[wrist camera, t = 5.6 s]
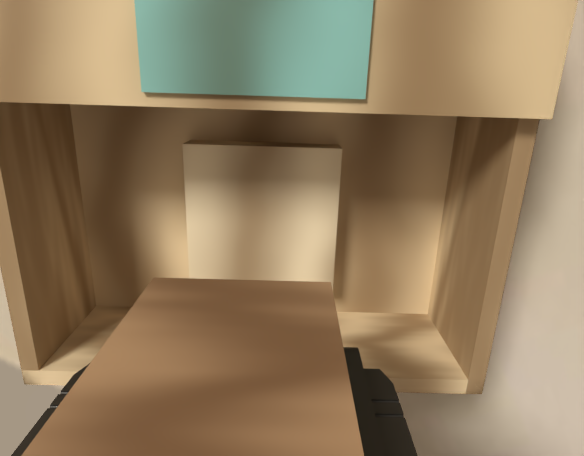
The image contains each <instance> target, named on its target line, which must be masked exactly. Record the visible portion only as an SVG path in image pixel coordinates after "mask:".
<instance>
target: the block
mask: <svg viewBox="0 0 584 456" xmlns="http://www.w3.org/2000/svg"><path fill="white" fill-rule="evenodd" d="M21 456H364V453H363V447H362V442H361V437H360V432H359V426H358V421H357V416H356V411H355V405H354V400H353V395H352V390H351V384H350V379H349V374H348V369H347V363H346V358H345V353H344V348H343V342H342V337H341V332H340V327H339V321H338V316H337V311H336V306H335V301H334V295H333V290H332V285H331V282H310V281H272V280H233V279H195V278H157V277H154V278H153V279H152V280H151V282H150V283H149V284H148V286H147V287H146V289H145V290H144V291H143V293H142V294H141V295H140V297H139V298H138V299H137V301H136V302H135V303H134V305H133V306H132V307H131V309H130V310H129V311H128V313H127V314H126V315H125V317H124V318H123V319H122V321H121V322H120V323H119V325H118V326H117V328H116V329H115V330H114V332H113V333H112V334H111V336H110V337H109V338H108V340H107V341H106V342H105V344H104V345H103V346H102V348H101V349H100V350H99V352H98V353H97V354H96V356H95V357H94V358H93V360H92V361H91V363H90V364H89V365H88V367H87V368H86V369H85V371H84V372H83V373H82V375H81V376H80V377H79V379H78V380H77V381H76V383H75V384H74V385H73V387H72V388H71V389H70V391H69V392H68V393H67V395H66V396H65V398H64V399H63V400H62V402H61V403H60V404H59V406H58V407H57V408H56V410H55V411H54V412H53V414H52V415H51V416H50V418H49V419H48V420H47V422H46V423H45V424H44V426H43V427H42V428H41V430H40V431H39V433H38V434H37V435H36V437H35V438H34V439H33V441H32V442H31V443H30V445H29V446H28V447H27V449H26V450H25V451H24V453H23V454H22V455H21Z"/></svg>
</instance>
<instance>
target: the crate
mask: <svg viewBox="0 0 584 456" xmlns="http://www.w3.org/2000/svg"><path fill="white" fill-rule="evenodd" d="M577 3H578V0H0V267H1V272H2V277H3V282H4V287H5V292H6V297H7V302H8V306H9V311H10V316H11V321H12V326H13V331H14V336H15V341H16V346H17V350H18V355H19V360H20V365H21V370H22V375H23V380H24V384H31V385H32V384H33V385H66V384H67V383H68V381H69V380H70V379H71V377H72V376H73V375H74V374H75V373H77V372H78V371H80V370H81V369H82V368H84V367H85V366H87V365H88V364H89V363H91V361H92V360H93V358H94V357H95V356H96V354H97V353H98V352H99V350H100V349H101V348H102V346H103V345H104V344H105V342H106V341H107V340H108V338H109V337H110V336H111V334H112V333H113V332H114V330H115V329H116V328H117V326H118V325H119V323H120V322H121V321H122V319H123V318H124V317H125V315H126V314H127V313H128V311H129V310H130V309H131V307H132V306H133V305H134V303H135V302H136V301H137V299H138V298H139V297H140V295H141V294H142V293H143V291H144V290H145V289H146V287H147V286H148V284H149V283H150V282H151V280H152V279H153V278H154V277H157V278H195V279H233V280H272V281H310V282H331V285H332V290H333V295H334V301H335V306H336V311H337V316H338V321H339V327H340V332H341V337H342V342H343V347H358V349H359V352H360V356H361V360H362V364H363V368H366V369H380V370H381V371H382V372H383V373H384V374H385V375H386V376H387V377H388V378H389V379H390V380H391V382H392V383H393V385H394V387H395V390H396V392H407V393H454V394H482V391H483V386H484V382H485V377H486V372H487V367H488V362H489V358H490V353H491V348H492V343H493V339H494V334H495V329H496V324H497V320H498V315H499V310H500V305H501V300H502V296H503V291H504V286H505V281H506V277H507V272H508V267H509V262H510V258H511V253H512V248H513V243H514V238H515V234H516V229H517V224H518V219H519V215H520V210H521V205H522V200H523V196H524V191H525V186H526V181H527V176H528V172H529V167H530V162H531V157H532V153H533V148H534V143H535V138H536V133H537V129H538V124H539V119H552V117H553V113H554V108H555V103H556V99H557V94H558V90H559V85H560V81H561V76H562V71H563V67H564V62H565V58H566V53H567V49H568V44H569V39H570V35H571V30H572V26H573V21H574V17H575V12H576V7H577Z"/></svg>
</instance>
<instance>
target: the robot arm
mask: <svg viewBox="0 0 584 456" xmlns="http://www.w3.org/2000/svg"><path fill="white" fill-rule="evenodd" d="M343 348H344V353H345V358H346V363H347V369H348V374H349V379H350V384H351V390H352V395H353V400H354V405H355V411H356V416H357V421H358V426H359V432H360V437H361V442H362V447H363V453H364V456H417V453H416V450H415V447H414V444H413V441H412V438H411V435H410V432H409V429H408V426H407V423H406V420H405V418H404V417H403V411H402V408H401V405H400V403H399V399H398V396H397V393H396V390H395V387H394V385H393V383H392V382H391V380H390V379H389V378H388V377H387V376H386V375H385V374H384V373H383V372H382V371H381V370H380V369H366V368H363V364H362V360H361V356H360V352H359V349H358V347H343ZM89 364H90V363H89ZM89 364H88V365H89ZM88 365H87V366H85V367H84V368H82V369H81V370H80V371H78V372H77V373H75V374H74V375H73V376H72V377H71V379H70V380H69V381H68V383H67V384H66V385H65V386H64V388H63V389H62V390H61V394H58V396H57V397H56V398H55V399H54V401H53V402H52V403H51V405H50V408H48V409H47V410H46V411H45V412H44V414H43V415H42V416H41V418H40V419H39V420H38V422H37V423H36V424H35V425H34V427H33V428H32V429H31V431H30V432H29V433H28V435H27V436H26V437H25V438H24V440H23V441H22V443H21V444H20V445H19V446H18V448H17V449H16V450H15V451H14V453H13V454H12V455H11V456H21V455H22V454H23V453H24V451H25V450H26V449H27V447H28V446H29V445H30V443H31V442H32V441H33V439H34V438H35V437H36V435H37V434H38V433H39V431H40V430H41V428H42V427H43V426H44V424H45V423H46V422H47V420H48V419H49V418H50V416H51V415H52V414H53V412H54V411H55V410H56V408H57V407H58V406H59V404H60V403H61V402H62V400H63V399H64V398H65V396H66V395H67V393H68V392H69V391H70V389H71V388H72V387H73V385H74V384H75V383H76V381H77V380H78V379H79V377H80V376H81V375H82V373H83V372H84V371H85V369H86V368H87V367H88Z"/></svg>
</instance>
